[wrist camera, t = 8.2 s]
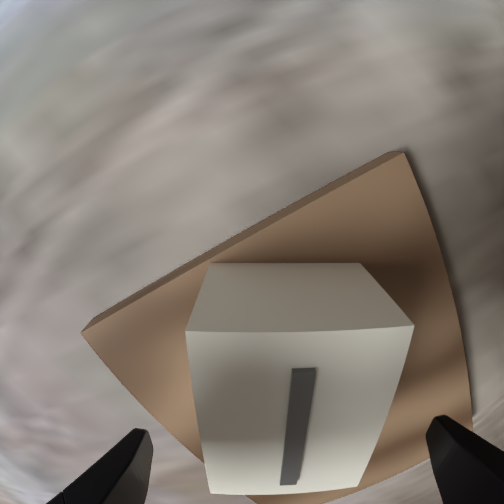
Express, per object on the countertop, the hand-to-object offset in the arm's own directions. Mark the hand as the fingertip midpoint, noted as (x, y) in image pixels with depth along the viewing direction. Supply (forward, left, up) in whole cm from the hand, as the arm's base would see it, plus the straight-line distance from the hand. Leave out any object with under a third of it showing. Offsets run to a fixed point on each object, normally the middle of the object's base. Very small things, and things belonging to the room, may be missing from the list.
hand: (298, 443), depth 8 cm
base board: (-5, 0, -7) cm, 9 cm away
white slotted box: (0, 0, -5) cm, 5 cm away
